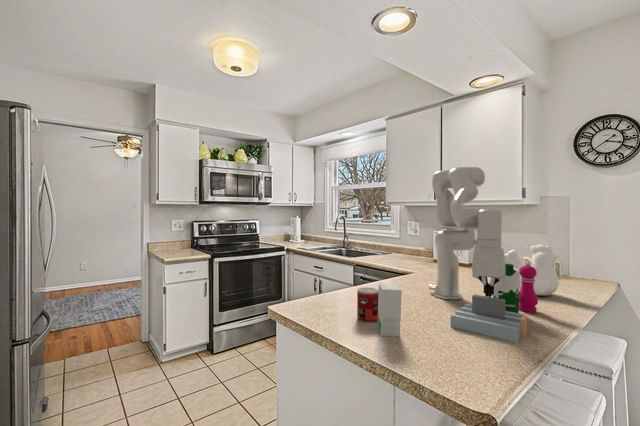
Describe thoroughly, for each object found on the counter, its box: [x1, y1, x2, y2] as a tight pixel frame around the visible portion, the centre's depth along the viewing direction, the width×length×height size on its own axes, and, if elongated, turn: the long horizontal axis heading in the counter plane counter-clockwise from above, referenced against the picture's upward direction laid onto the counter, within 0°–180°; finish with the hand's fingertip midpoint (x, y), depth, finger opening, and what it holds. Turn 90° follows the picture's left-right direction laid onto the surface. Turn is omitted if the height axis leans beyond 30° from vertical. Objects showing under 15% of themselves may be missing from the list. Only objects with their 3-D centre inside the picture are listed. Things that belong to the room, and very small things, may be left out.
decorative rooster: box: [504, 244, 560, 296], centre depth 156 cm, size 25×16×25 cm, turn 35°
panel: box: [471, 294, 505, 320], centre depth 111 cm, size 10×2×9 cm, turn 49°
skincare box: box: [377, 282, 403, 338], centre depth 105 cm, size 8×7×16 cm
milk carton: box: [492, 264, 520, 314], centre depth 124 cm, size 9×9×20 cm
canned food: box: [356, 287, 379, 323], centre depth 117 cm, size 8×8×11 cm
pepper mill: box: [519, 261, 539, 314], centre depth 128 cm, size 7×7×20 cm
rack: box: [450, 303, 528, 343], centre depth 110 cm, size 21×18×6 cm
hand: (488, 295), depth 110 cm, fingers closed
